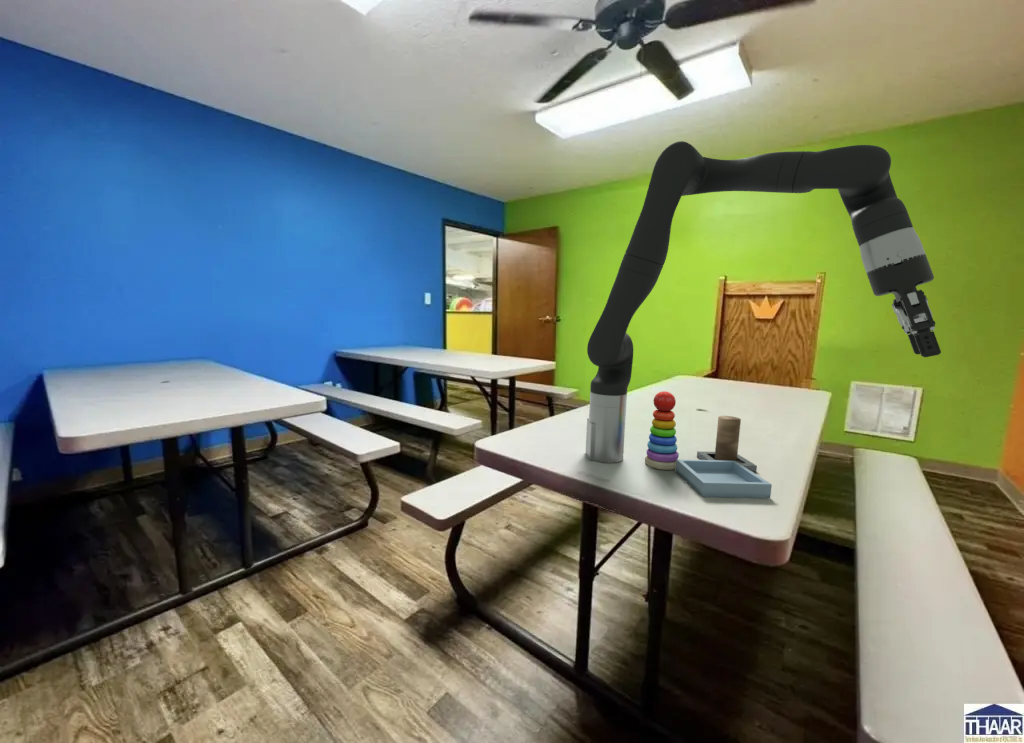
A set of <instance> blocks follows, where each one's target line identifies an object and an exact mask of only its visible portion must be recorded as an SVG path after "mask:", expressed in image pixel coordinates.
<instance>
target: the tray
mask: <svg viewBox="0 0 1024 743" xmlns="http://www.w3.org/2000/svg"><path fill="white" fill-rule="evenodd" d="M675 472H676V473H677V474H678V475H679V476H680V477H681V478H682V479H683V480H684V481H685V482H686V483H688V485H689V486H690V487H691V488H693V490H695V492H696V493H698V494H699V495H700V496H701V497H705V498H743V499H744V498H745V499H771V494H772V483H770V482H769V481H767V480H765V479H764V478H763V477H761V476H760V475H758V474H756V473H755V472H752V471H750V470H749V469H747V468H746V467H744V466H742V465H741V464H739V463H738V462H736V461H726V460H700V459H681V458H680V459H679V458H678V459H677V460H676V468H675Z"/></svg>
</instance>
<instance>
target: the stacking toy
mask: <svg viewBox="0 0 1024 743" xmlns="http://www.w3.org/2000/svg"><path fill="white" fill-rule="evenodd" d="M676 402H677V401H676V398H675V395H674V394H672V393H671V392H669V391H660V392H657V393H656V394H655V395H654V397H653V405H654V407H655V410H654V411H653V413H652V416H653V419H652V420H651V424H652V425H651V427H650V431H649V432H650V434H649V435H648V439H649V440H648V441H647V449H646V455H645V457H644V462H645V464H646V465H647V466H648V467H651V468H654V469H656V470H661V471H665V470H667V471H671V470H676V460H677V459H679V457H680V456H679V452H678V451H677V450H678V445H677V444H676V443H677V441H678V440H677V436H676V434H677V430H676V428H675V427H676V425H677V423H676V421H675V420H674V419H675V417H676V414H675V412H674V411H672V410H673V409H674V408H675V406H676Z"/></svg>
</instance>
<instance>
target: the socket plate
mask: <svg viewBox="0 0 1024 743" xmlns="http://www.w3.org/2000/svg"><path fill="white" fill-rule="evenodd" d="M696 458H697V459H698V460H714V459H715V451H697V452H696ZM737 462H738V463H739V464H741V465H742V466H744V467H746V468H747V469H749V470H750V471H752V472H753V473H755V472H757V470H758V466H757V465H756V464H755V463H753V462H751V461H750V460H748V459H746V458H744V457H743V456H742V455H740V454H739V453H738V454H737Z"/></svg>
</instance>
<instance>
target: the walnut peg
mask: <svg viewBox="0 0 1024 743" xmlns="http://www.w3.org/2000/svg"><path fill="white" fill-rule="evenodd" d="M717 418H718V419H717V425H716V426H717V428H716V430H717V431H716V439H715V447H714V448H715V449H714V452H715V459H714V460H726V461H736V462H737V454H738V455H739V452H738V451H739V442H740V430H741V421H742V419H741V418H740V417H737V416H732V415H718V417H717Z"/></svg>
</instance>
